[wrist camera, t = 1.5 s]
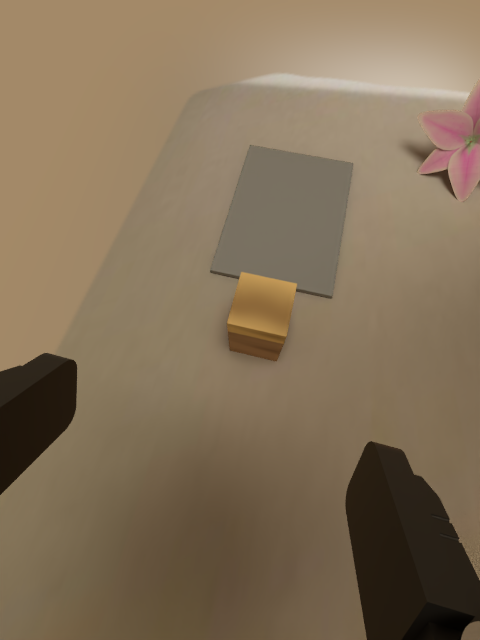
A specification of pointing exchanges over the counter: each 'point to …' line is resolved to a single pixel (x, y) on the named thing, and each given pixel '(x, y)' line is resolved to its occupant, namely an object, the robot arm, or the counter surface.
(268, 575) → the counter surface
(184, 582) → the counter surface
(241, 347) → the block
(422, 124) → the lily
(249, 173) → the mat
